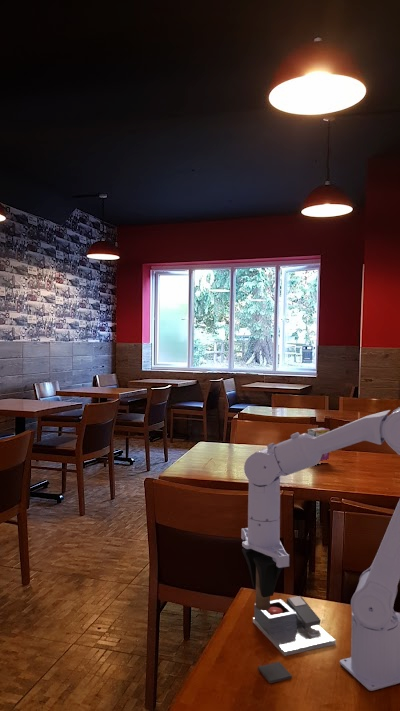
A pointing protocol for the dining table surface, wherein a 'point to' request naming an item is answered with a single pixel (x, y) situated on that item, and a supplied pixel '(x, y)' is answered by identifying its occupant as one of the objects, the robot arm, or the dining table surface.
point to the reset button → (275, 610)
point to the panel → (290, 630)
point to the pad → (274, 672)
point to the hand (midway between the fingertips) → (263, 591)
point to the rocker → (303, 611)
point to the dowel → (261, 602)
